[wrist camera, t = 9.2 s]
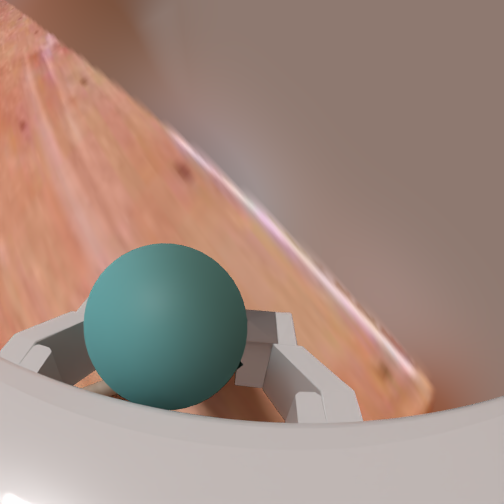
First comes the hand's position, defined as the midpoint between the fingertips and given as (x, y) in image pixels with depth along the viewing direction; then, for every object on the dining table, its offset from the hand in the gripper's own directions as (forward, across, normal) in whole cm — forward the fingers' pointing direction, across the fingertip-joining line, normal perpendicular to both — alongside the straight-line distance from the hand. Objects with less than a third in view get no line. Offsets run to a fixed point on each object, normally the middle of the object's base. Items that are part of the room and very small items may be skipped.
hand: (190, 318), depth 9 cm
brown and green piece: (0, +8, +8) cm, 11 cm away
